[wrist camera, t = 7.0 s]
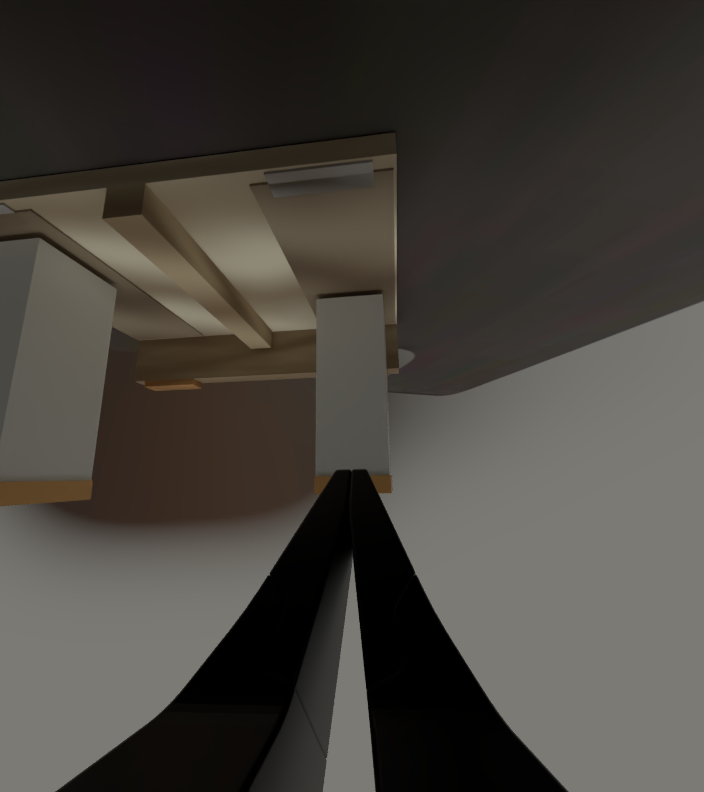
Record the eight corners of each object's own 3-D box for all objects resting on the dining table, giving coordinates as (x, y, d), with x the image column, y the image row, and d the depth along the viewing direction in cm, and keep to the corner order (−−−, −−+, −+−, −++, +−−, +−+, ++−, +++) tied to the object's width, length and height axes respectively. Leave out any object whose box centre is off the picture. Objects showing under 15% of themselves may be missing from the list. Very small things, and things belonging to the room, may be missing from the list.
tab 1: (-42, 245, 14) (-107, 507, 12) (39, 236, 14) (-13, 507, 12) (53, 295, 18) (16, 500, 16) (118, 289, 18) (90, 499, 16)
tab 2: (315, 298, 19) (314, 494, 17) (383, 293, 19) (391, 493, 17) (329, 329, 23) (329, 490, 21) (385, 325, 23) (392, 489, 21)
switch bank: (-98, 193, 13) (-129, 298, 12) (395, 132, 11) (401, 252, 10) (151, 336, 27) (145, 391, 26) (396, 319, 25) (399, 379, 24)
